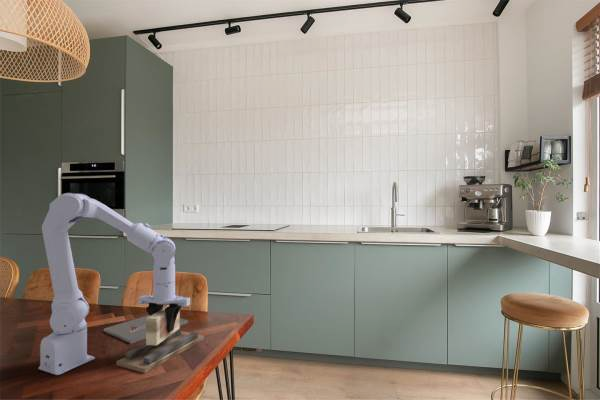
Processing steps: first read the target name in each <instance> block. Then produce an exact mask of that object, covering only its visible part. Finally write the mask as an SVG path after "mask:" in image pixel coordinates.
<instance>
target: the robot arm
mask: <svg viewBox="0 0 600 400" xmlns="http://www.w3.org/2000/svg"><path fill="white" fill-rule="evenodd" d="M82 218H92V219H98V220H100V221H103V222H104V223H105V224H108V225H110V226H111V227H113V228H115V229H117V230H119V231H121V232H123V233H125V235H126V240H127V241H128V242H130V243H132V244H133V245H134V246H136V247H139V249H141V250H143V251H144V252H146V253H151V256H152V257H153V267H152V269H153V270H152V274H153V276H152V278H153V279H152V284H153V285H152V292H153V293H152V295H141V296H139V297H138V305H148V306H147V307H146V308H145V311H146V312H147V313H148V315H150V316H151V315H153V314H154V313H156V312H158V311H160V310H161V309H163V308H165V307H166V308H165V313H166V317H167V331H168V332H171V331H172V330H173V329H174V324H175V321H176V318H177V315H178V313H179V310H180V311H181V309H182V307H188V306H190V305H191V297H185V296H180V295H176V264H175V261H176V260H175V254H176V245H175V242H174V241H172V239H171V238H169V237H165V234H163V233H161V234H160V233H158V232H156V231H155V230H154V229H152V228H150V226H151V225H150V224H148V223H147V222H146V223H145V224H144V223H142V222H137V223H133V222H131V221H130V220H128V219H127V218H125V217H124V216H123V215H121V214H119V213H118V212H117V211H115V210H113V209H112V208H110V207H108V205H106V204H104V203H102V202H101V201H98V200H97V199H94V198H91V197H90V196H88V195H86V194H84V193H74V192H73V193H72V192H66V193H64V192H63V194H59V195H58V196H57V197H56V198H55V199H54V200H52V201H51V202H50V203H49V209H48V211H47V213H46V216H45V218H44V220H43V223H42V225H41V232H42V233H41V234H42V237H43V238H42V239H43V242H44V248H45V253H46V258H47V264H48V268H49V273H50V280H51V284H52V290H53V295H54V296H53V300H52V303H51V315H50V318H49V325H50V328H51V330H53V332H51V333H50V334H49V335H47V336H45V337H43V338H42V339H41V340H40V341H41V342H40V346H39V349H40V351H39V353H40V354H39V355H40V356H39V361H40V362H39V364H40V365H39V366H38V368H37V369H38V370H40V371H44V372H46V373H50V374H52V375H55V376H58V375H59V376H60V375H61V374H65V373H67V372H68V371H70V370H72V369H73V370H74V369H75V368H78V367H80V366H82V365H84V364H86V363H89V362H91V361H93V360H95V359H96V357H95V356H93V355H89V354H88V353H87V352H88V324H87V323H88V322H86V319H85V318H86V317H87V316H88V314H89V313H90V306H89V303H88V302H87V301H86V299H85V298H84V295H83V292H82V290H80V289H79V286H78V285H79V283H78V280H77V274H76V269H75V264H74V258H73V254H72V253H73V252H72V248H71V243H70V238H69V232H68V231H69V230H70V228H72V226H73V225H75V223H76V222H77V221H79V220H80V219H82ZM168 305H169V306H168ZM164 306H165V307H164ZM167 306H168V307H167Z"/></svg>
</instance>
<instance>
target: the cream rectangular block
mask: <svg viewBox="0 0 600 400" xmlns="http://www.w3.org/2000/svg"><path fill="white" fill-rule="evenodd" d="M168 306H169V305H166V306H165V307H163V309H161V310H160V311H158V312H156V313H154V314H153V315H151V316H149V317H147V318H146V338H145V343H146V345H155V346H157V345H158V344H159V343H161V342H162V341H163V340H165V339H166V338H167V337H169V336H170V335H171V334H173V333H174V332H176V331H177V330H178V329H180V327H181V326H180V318H181V317H180V316H181V309H180V310H179V313H178V315H177V318H176V321H175V324H174V329H173V330H172V331H171V332H168V331H167V317H166V313H165V308H166V307H168Z"/></svg>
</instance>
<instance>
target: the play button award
mask: <svg viewBox="0 0 600 400" xmlns="http://www.w3.org/2000/svg"><path fill="white" fill-rule="evenodd" d="M149 316H150V315H149V314H148V315H144V316H141V317H138V318H134V319H132V320H129V321H124V322H121V323H118V324H114V325H111V326H108V327H105V328H104V327H103V332H104V333H106V334H108V335H110V336H113V337H114V338H116V339H117V338H118V339H119V340H121V341H123V342H126V343H128V344H134V343H136V342H139V341H142V340H146V318H147V317H149ZM186 323H187V324H188V323H189V320H187V319H184V318H181V317H180V327H182V326H184V325H183V324H185V325H187V324H186ZM181 325H182V326H181ZM131 327H137V328H136V330H135V329H134V330H133V331H132V330H131Z"/></svg>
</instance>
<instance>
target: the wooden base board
mask: <svg viewBox="0 0 600 400" xmlns="http://www.w3.org/2000/svg"><path fill="white" fill-rule="evenodd" d="M205 339H206V338H205V335H202V334H199V332H195V331H192V332H187V331H182V329H178V330H177V331H176V332H174V333H173V334H171V335H170V336H169V337H167V338H166V339H165V340H163V341H162V342H161V343H159V344H158V345H157V346H155V345H146V342H145V343H143V344H141V345H139V346H137V347H135V348H132V349H130V350H128V351H126V352H125V353H124V355H125V356H124V357H123V358H121V359H120V358H119V360H116V366H118V367H122V368H124V369H129V370H132V371H136V372H138V373H139V372H140V373H142V374H146V373H147V372H150V371H151V370H153V369H155V368H156V367H158V366H161V365H162V364H163V363H165V362H167V361H169V360H171V359H172V358H174V357H176V356H178V355H179V354H181V353H183V352H185V351H186V350H188V349H190V348H192V347H193V346H195V345H197V344H199V343H201V342H203V341H204V340H205Z"/></svg>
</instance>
